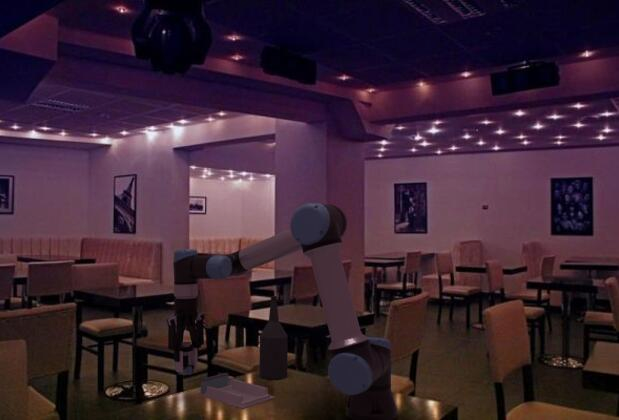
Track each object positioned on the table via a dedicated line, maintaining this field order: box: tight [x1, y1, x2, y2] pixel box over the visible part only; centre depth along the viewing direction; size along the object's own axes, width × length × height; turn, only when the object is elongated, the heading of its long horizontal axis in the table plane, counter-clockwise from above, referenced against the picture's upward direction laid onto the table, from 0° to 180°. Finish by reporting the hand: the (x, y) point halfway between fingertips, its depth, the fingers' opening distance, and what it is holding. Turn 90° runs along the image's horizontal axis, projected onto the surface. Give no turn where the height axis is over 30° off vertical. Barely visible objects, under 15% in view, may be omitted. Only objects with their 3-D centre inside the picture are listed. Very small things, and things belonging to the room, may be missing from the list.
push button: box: [177, 341, 198, 376], centre depth 183 cm, size 7×5×10 cm
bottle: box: [259, 295, 289, 381], centre depth 210 cm, size 10×10×30 cm
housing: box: [197, 375, 276, 410], centre depth 186 cm, size 22×14×3 cm
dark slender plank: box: [200, 372, 230, 394], centre depth 191 cm, size 1×11×4 cm, turn 140°
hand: (186, 369), depth 182 cm, fingers closed on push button, 5 cm apart
